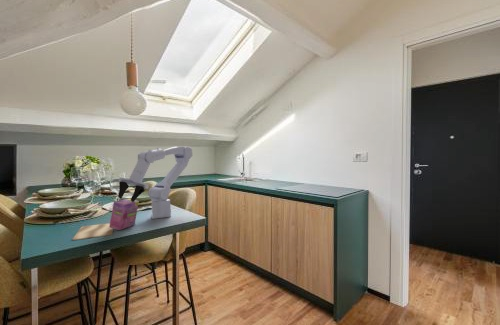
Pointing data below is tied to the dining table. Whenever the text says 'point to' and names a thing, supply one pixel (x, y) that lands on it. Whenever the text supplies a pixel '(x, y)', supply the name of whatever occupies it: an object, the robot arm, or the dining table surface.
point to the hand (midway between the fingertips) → (125, 199)
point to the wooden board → (93, 231)
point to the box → (123, 214)
